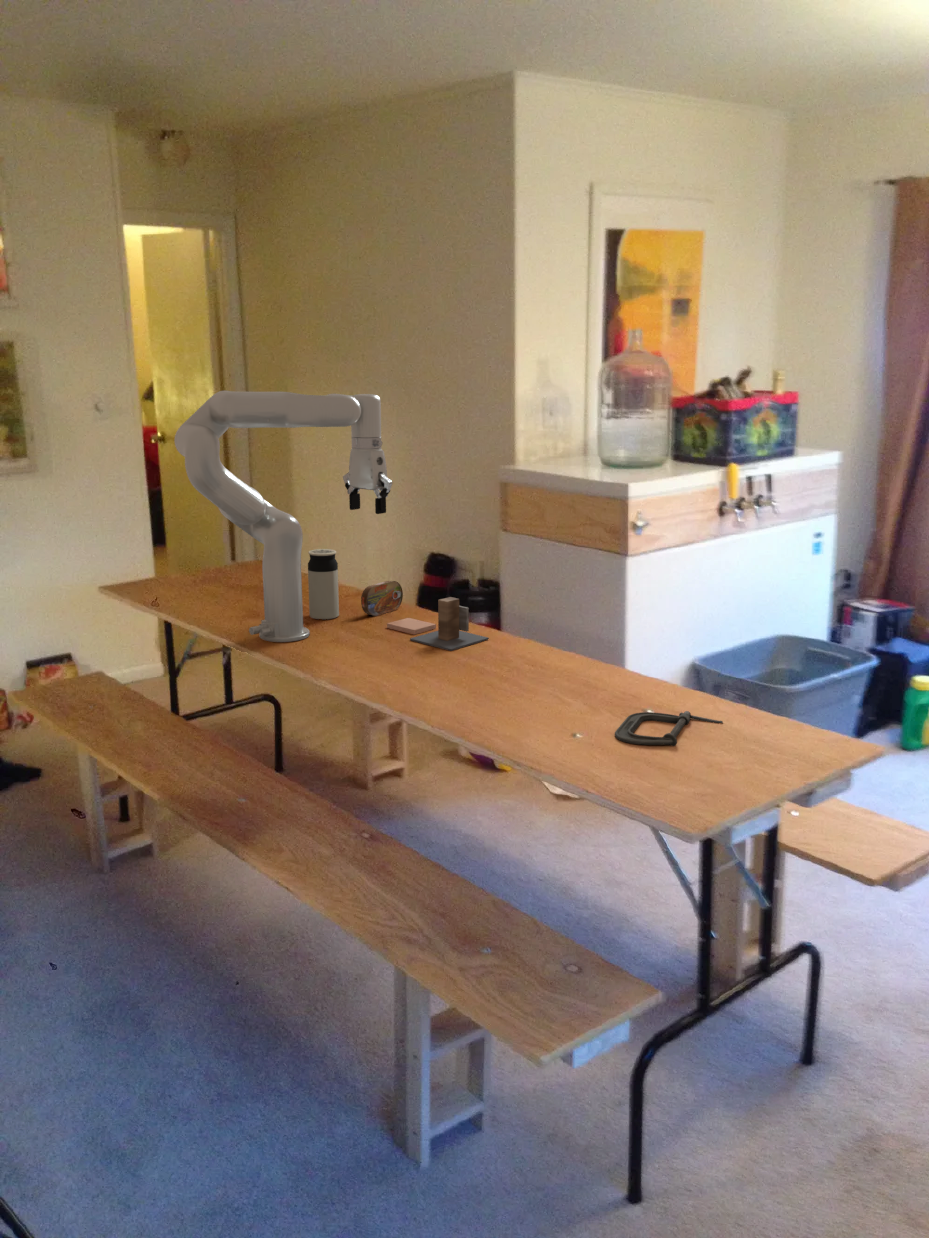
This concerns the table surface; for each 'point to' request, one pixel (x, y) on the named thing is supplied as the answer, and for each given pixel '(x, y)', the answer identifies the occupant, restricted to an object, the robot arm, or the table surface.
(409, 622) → the tile
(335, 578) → the travel mug
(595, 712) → the table surface
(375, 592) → the tin
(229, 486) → the robot arm
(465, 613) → the brown grey block
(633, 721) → the c clamp
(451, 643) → the mat
